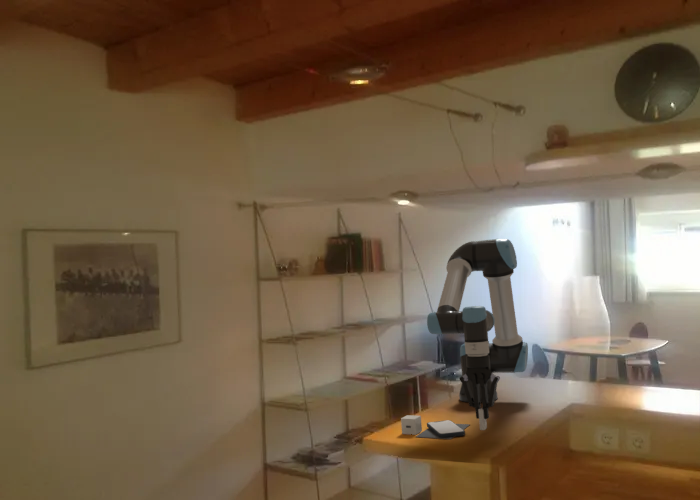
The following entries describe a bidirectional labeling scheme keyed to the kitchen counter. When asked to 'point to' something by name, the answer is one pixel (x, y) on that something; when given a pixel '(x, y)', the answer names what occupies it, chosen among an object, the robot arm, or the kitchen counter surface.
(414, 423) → the charger block
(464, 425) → the charging mat
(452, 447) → the kitchen counter surface
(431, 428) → the phone case
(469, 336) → the robot arm
